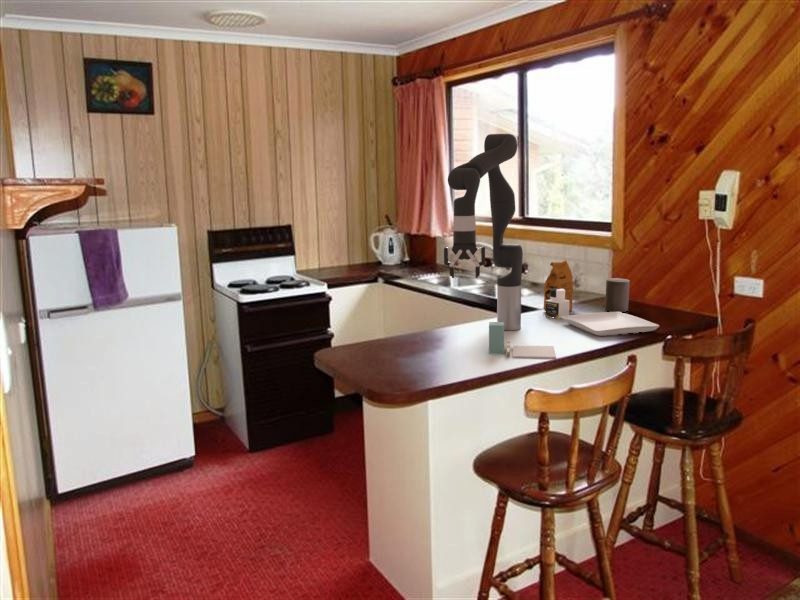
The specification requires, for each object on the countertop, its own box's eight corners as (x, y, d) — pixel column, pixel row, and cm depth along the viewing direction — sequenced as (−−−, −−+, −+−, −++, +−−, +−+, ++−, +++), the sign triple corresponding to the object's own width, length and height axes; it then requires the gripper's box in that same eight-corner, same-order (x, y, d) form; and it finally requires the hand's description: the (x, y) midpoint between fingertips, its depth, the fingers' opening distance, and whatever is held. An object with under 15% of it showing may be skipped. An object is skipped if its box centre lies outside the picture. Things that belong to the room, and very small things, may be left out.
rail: (507, 346, 237) (507, 341, 236) (509, 346, 236) (509, 341, 236) (506, 357, 223) (506, 351, 223) (509, 357, 223) (509, 351, 223)
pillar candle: (605, 312, 287) (607, 278, 285) (604, 308, 297) (605, 274, 294) (629, 313, 285) (631, 279, 282) (627, 309, 294) (629, 275, 292)
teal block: (489, 350, 233) (489, 322, 231) (504, 350, 232) (504, 322, 231) (489, 353, 228) (489, 325, 227) (503, 354, 228) (503, 325, 226)
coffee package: (539, 311, 294) (540, 261, 290) (557, 307, 302) (558, 258, 298) (558, 314, 286) (559, 263, 282) (575, 310, 294) (577, 260, 290)
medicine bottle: (545, 316, 283) (545, 288, 281) (556, 314, 288) (556, 286, 285) (558, 319, 278) (558, 290, 275) (569, 316, 282) (570, 288, 280)
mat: (512, 347, 236) (512, 345, 236) (553, 347, 234) (553, 346, 234) (512, 357, 223) (512, 356, 223) (556, 358, 220) (556, 356, 220)
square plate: (596, 340, 244) (596, 330, 243) (559, 324, 270) (559, 315, 269) (660, 333, 251) (661, 323, 250) (618, 319, 277) (618, 310, 276)
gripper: (486, 227, 227) (486, 276, 230) (444, 228, 229) (444, 276, 232) (485, 229, 219) (485, 279, 222) (442, 230, 222) (442, 279, 225)
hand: (464, 277), depth 227 cm, fingers open, 7 cm apart
